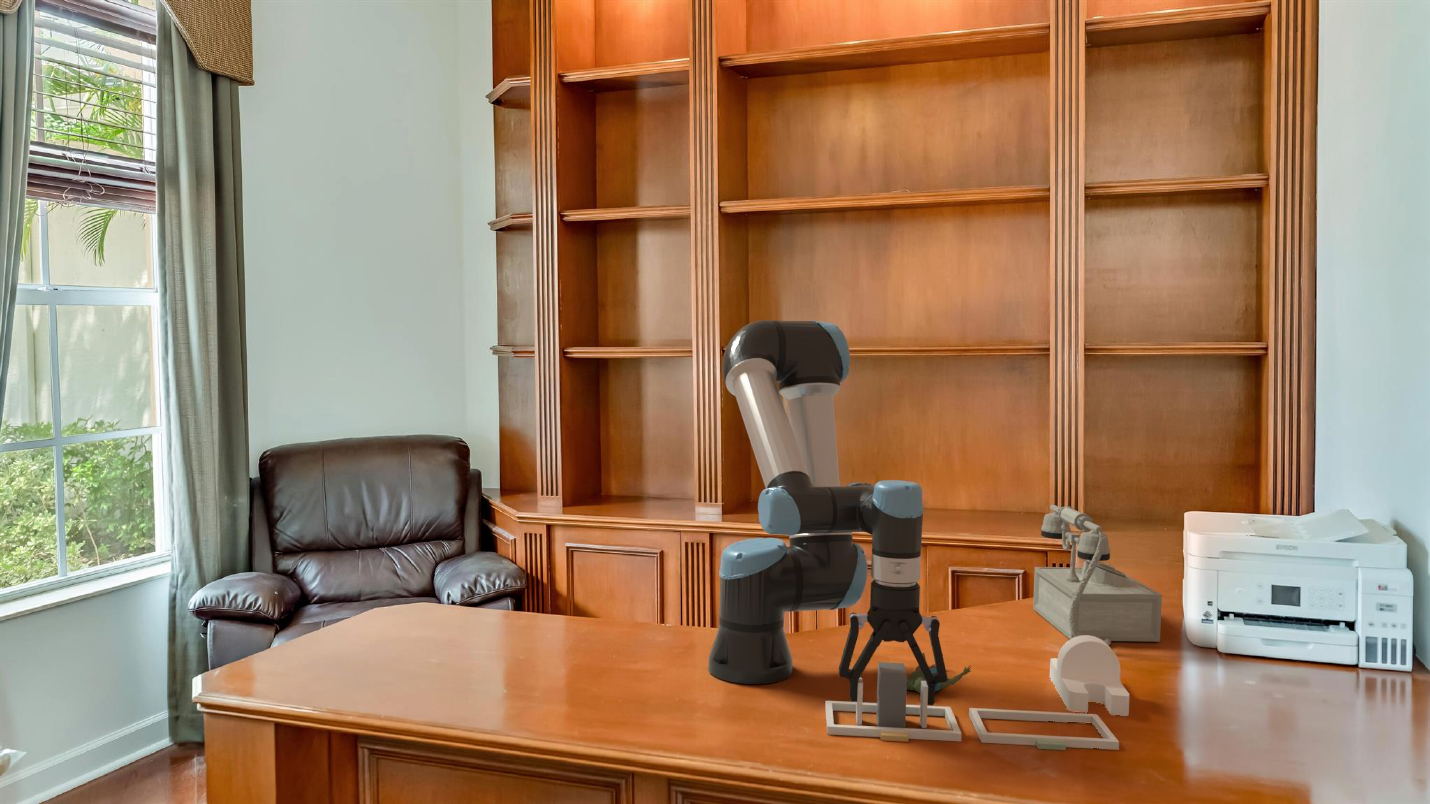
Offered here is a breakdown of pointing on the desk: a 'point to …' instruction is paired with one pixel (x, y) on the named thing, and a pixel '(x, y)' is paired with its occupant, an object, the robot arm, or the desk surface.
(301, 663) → the desk surface
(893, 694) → the plug
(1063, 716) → the socket
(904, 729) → the socket
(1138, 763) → the desk surface
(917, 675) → the figurine
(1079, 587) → the rotary telephone
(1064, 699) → the white slotted bracket
